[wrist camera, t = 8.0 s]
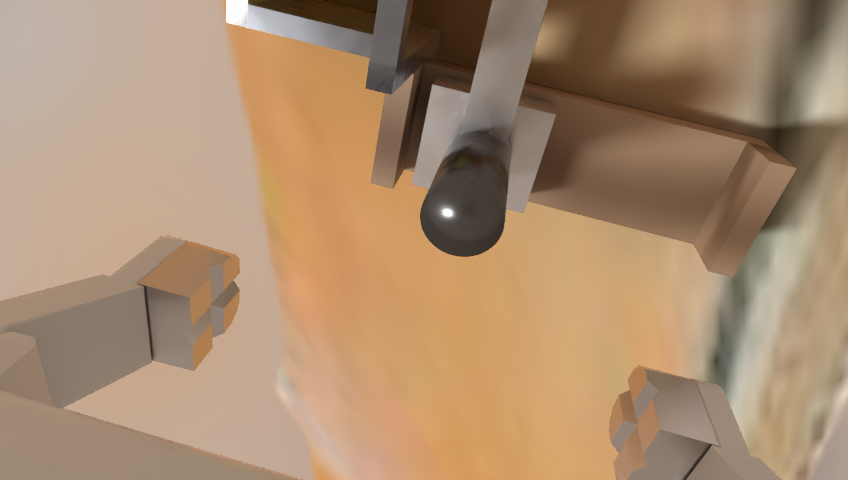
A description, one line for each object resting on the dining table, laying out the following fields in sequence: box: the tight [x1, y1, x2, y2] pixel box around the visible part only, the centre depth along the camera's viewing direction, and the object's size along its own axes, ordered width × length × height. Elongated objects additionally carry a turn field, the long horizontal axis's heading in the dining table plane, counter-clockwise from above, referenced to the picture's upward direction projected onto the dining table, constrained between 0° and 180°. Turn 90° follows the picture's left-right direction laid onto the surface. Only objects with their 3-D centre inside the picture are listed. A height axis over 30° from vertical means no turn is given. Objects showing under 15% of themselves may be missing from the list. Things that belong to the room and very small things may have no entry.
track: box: [371, 58, 797, 277], centre depth 23 cm, size 5×16×4 cm, turn 78°
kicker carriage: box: [412, 0, 556, 257], centre depth 18 cm, size 13×5×9 cm, turn 168°
